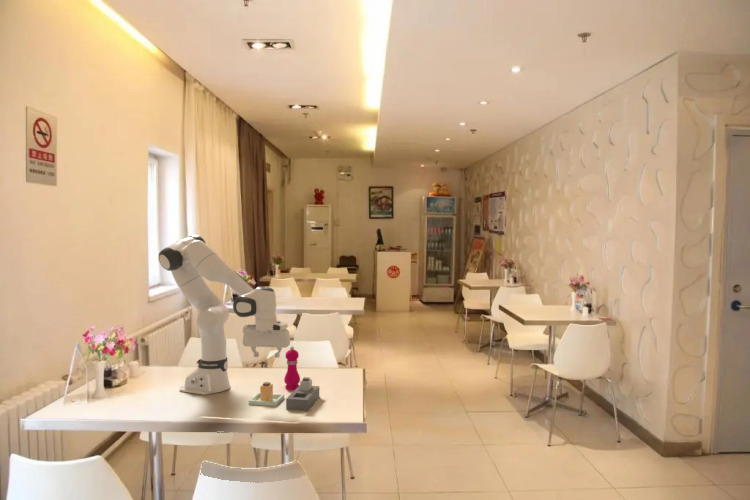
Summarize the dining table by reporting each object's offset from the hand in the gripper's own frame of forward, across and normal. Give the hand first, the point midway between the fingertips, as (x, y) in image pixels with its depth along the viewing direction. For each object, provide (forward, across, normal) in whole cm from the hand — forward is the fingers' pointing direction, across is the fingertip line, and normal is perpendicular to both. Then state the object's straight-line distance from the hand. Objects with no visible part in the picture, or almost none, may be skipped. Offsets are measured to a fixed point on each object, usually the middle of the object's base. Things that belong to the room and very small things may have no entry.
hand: (266, 357), depth 213 cm
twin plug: (+18, +16, +5) cm, 24 cm away
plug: (+19, 0, 0) cm, 19 cm away
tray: (+20, 0, 0) cm, 20 cm away
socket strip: (+20, +16, +1) cm, 25 cm away
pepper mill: (+20, +4, +19) cm, 28 cm away
